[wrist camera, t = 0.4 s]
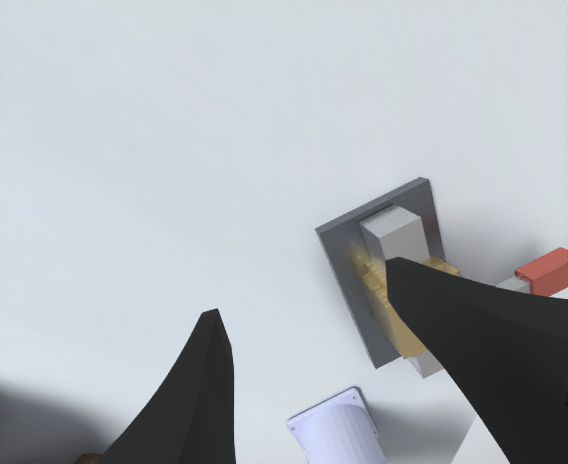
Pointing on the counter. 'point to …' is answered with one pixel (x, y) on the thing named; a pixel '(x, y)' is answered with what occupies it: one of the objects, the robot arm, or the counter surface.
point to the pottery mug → (87, 459)
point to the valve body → (372, 269)
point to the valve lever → (541, 275)
